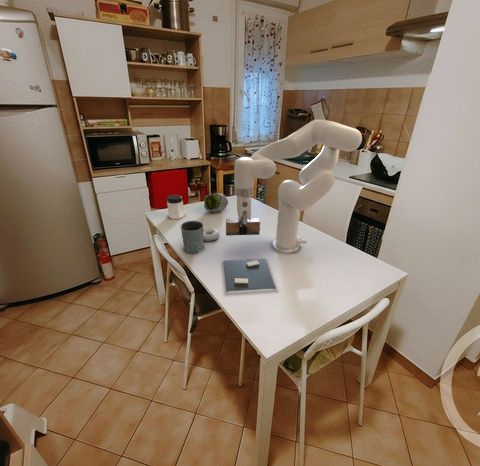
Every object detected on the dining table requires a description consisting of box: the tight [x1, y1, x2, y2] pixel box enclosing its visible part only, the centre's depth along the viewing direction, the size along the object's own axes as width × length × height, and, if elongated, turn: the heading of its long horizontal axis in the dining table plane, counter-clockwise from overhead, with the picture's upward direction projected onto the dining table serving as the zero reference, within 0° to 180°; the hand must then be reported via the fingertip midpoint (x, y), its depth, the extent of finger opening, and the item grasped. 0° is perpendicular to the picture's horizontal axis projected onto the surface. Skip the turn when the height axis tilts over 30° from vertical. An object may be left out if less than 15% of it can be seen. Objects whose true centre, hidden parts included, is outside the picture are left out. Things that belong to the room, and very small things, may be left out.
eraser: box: [225, 217, 261, 237], centre depth 111 cm, size 14×4×6 cm, turn 96°
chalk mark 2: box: [246, 261, 259, 267], centre depth 109 cm, size 5×2×1 cm, turn 108°
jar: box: [166, 194, 185, 220], centre depth 151 cm, size 9×8×12 cm
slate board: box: [223, 258, 276, 292], centre depth 103 cm, size 18×20×1 cm
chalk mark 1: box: [235, 278, 248, 284], centre depth 98 cm, size 5×2×1 cm, turn 88°
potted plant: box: [203, 192, 229, 214], centre depth 158 cm, size 12×13×15 cm
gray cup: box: [180, 220, 204, 254], centre depth 119 cm, size 10×10×12 cm
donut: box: [203, 227, 220, 242], centre depth 130 cm, size 10×3×10 cm
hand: (242, 231), depth 112 cm, fingers closed on eraser, 4 cm apart
